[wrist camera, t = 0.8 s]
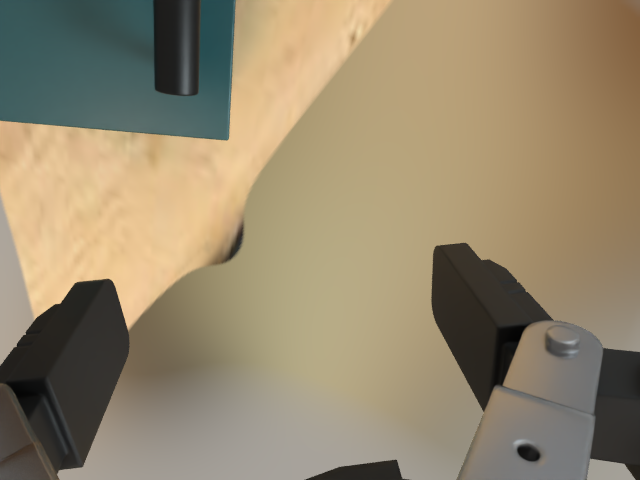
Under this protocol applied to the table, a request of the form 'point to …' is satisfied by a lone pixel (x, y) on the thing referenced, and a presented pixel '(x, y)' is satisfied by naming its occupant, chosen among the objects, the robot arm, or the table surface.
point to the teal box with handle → (119, 65)
